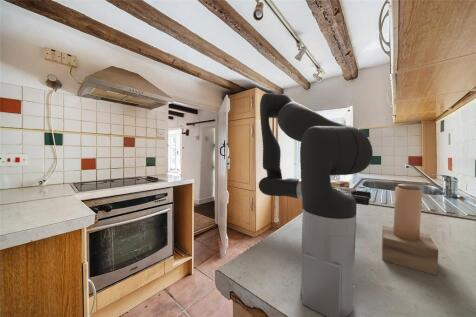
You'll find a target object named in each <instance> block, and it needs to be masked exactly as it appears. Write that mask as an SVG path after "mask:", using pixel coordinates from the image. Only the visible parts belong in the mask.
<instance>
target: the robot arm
mask: <svg viewBox="0 0 476 317" xmlns="http://www.w3.org/2000/svg"><path fill="white" fill-rule="evenodd" d="M259 116H260V117H259V118H260V130H261V139H262V169H264V170H265V171H266V176H265V177H263V178H261V179H260V181H259V182H258V189H259V191H260V192H261V194H264V195H266V196H270V197H271V196H272V197H288V198H293V199H294V198H295V199H300V200H302V217H301V218H302V223H301V254H300V255H301V258H300V260H301V262H300V263H301V264H300V265H301V267H300V272H301V273H300V294H301V297H302V301H301V302H302V305H304V306H306V307H308V308H309V309H312V310H313V311H315V312H317V313H319V314H321V315H323V316H325V317H348V316H349V315H351V314H352V313H353V310H354V298H355V297H354V294H355V263H356V262H355V261H356V260H355V257H356V256H355V255H356V235H357V234H356V232H357V231H356V230H357V210H358V209H357V208H358V207H357V206H358V205H364V206H369V205H370V199H371V197H372V193H371V192H370V191H365V190H358V189H356V188H354V187H349V188H345V187H338V186H336V187H335V188H332V186H331V182H332V180H331V176H349V175H355V174H359V173H361V172H362V171H365V170H366V169H367V168H369V166H370V164H371V162H372V160H373V155H374V154H373V146H372V142H370V141H371V140H370V139H369V138H368V137H367V135H366V134H365V133H364V132H363V131H362V130H360V129H359V128H357V127H354V126H351V125H347V124H345V123H344V124H343V123H340V122H337V121H334V120H331V119H329V118H327V117H325V116H324V115H322V114H320V113H319V112H316V111H314V110H312V109H310V108H309V107H307V106H305V105H303V104H300V103H298V102H296V101H294V100H293V99H292V98H291V97H290V96H288V95H287V94H284V93H270V92H266V93H263V94H262V96H261V99H260V102H259ZM270 119H277V120H276V121H277V125H278V126H279V127H278V128H280V130H281V131H282V132H283V133H284V134H285V135H286V136H288V137H289V138H290V139H293V140H294V141H297V142H300V147H299V148H300V150H299V158H300V159H299V161H300V163H299V165H300V178H291V177H290V178H283V174H282V169H281V146H280V143H279V142H278V140H277V138H276V136H275V135H274V132H273V130H272V129H271V125H270Z"/></svg>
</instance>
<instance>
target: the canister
mask: <svg viewBox="0 0 476 317" xmlns="http://www.w3.org/2000/svg"><path fill="white" fill-rule="evenodd" d="M394 190H395V191H394V192H395V193H394V195H395V196H394V211H393V212H394V213H393V228H394V230H393V234H394V235H396V236H397V237H400V238H403V239H406V240H411V241H418V240H419V239H420V233H421V218H422V199H423V189H421V186H420V185H418V184H417V185H416V184H410V183H398V184H397V186H395V188H394Z"/></svg>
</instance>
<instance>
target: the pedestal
mask: <svg viewBox="0 0 476 317" xmlns="http://www.w3.org/2000/svg"><path fill="white" fill-rule="evenodd" d="M393 230H394V227H392V226H387V225H382V234H381V235H382V236H381V257H382V258H381V259H382V261H385V262H389V263H392V264H396V265H399V266H402V267H406V268H410V269H413V270H416V271H420V272H424V273H427V274H429V275H433V276H438V268H439V267H438V265H439V264H438V263H439V249H438V247H437V246H436V244H435V242H434V240H433V239H432V237H431V236H430V234H427V233H421V232H420V239H419V240H418V241H411V240H406V239H403V238H400V237H397V236H396V235H394V234H393Z"/></svg>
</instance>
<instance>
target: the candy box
mask: <svg viewBox="0 0 476 317" xmlns="http://www.w3.org/2000/svg"><path fill="white" fill-rule="evenodd" d="M331 186H332V188H335V187H336V186H338V187H345V188H350V181H346V180H338V181H331Z"/></svg>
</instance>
